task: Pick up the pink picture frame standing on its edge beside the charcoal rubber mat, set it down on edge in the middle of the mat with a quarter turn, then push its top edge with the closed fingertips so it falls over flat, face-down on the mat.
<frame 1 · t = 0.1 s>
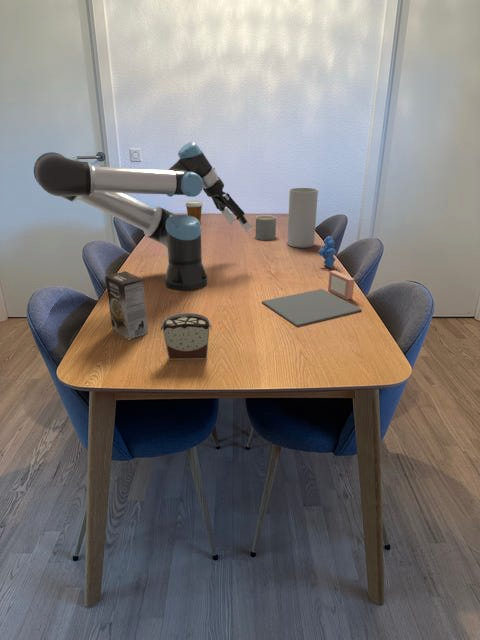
hand: (240, 225, 172), 15 cm above the table, tool tilted 35°, fingers open, 13 cm apart
coffee mug: (264, 237, 218), on the table
cylinder vase: (300, 245, 204), on the table
coffee box: (130, 332, 121), on the table
blue lumpy piece: (325, 266, 174), on the table
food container: (188, 353, 110), on the table
mat: (310, 306, 137), on the table
pink picture frame: (339, 294, 146), on the table
disposable coffee cup: (194, 224, 245), on the table
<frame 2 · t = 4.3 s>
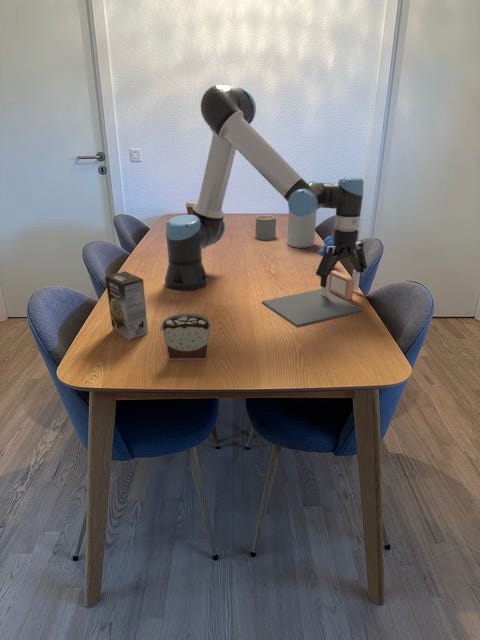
hand: (339, 292, 146), 1 cm above the table, tool pointing down, fingers open, 12 cm apart
nothing on the table moved.
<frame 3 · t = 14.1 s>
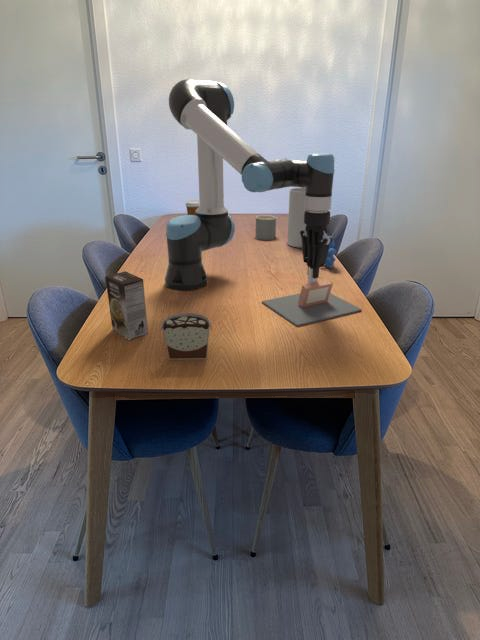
hand: (312, 286, 136), 6 cm above the table, tool pointing down, fingers closed
pink picture frame: (312, 302, 137), point 1 cm above the table, tilted 15°, touching mat
everything else where it was.
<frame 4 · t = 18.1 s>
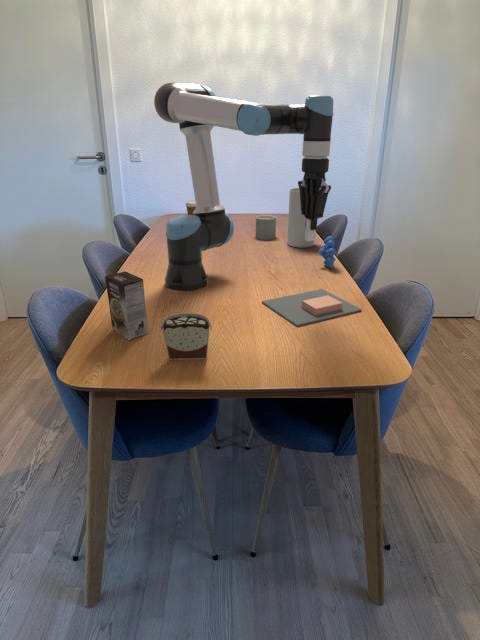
hand: (310, 239, 132), 20 cm above the table, tool pointing down, fingers closed
pink picture frame: (315, 301, 136), point 2 cm above the table, tilted 90°, touching mat
everything else where it was.
at the end: pink picture frame tilted 90°; pink picture frame inside the target area on the mat (1.4 cm from its centre), point 1.7 cm above the mat's base; the gripper is holding nothing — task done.
